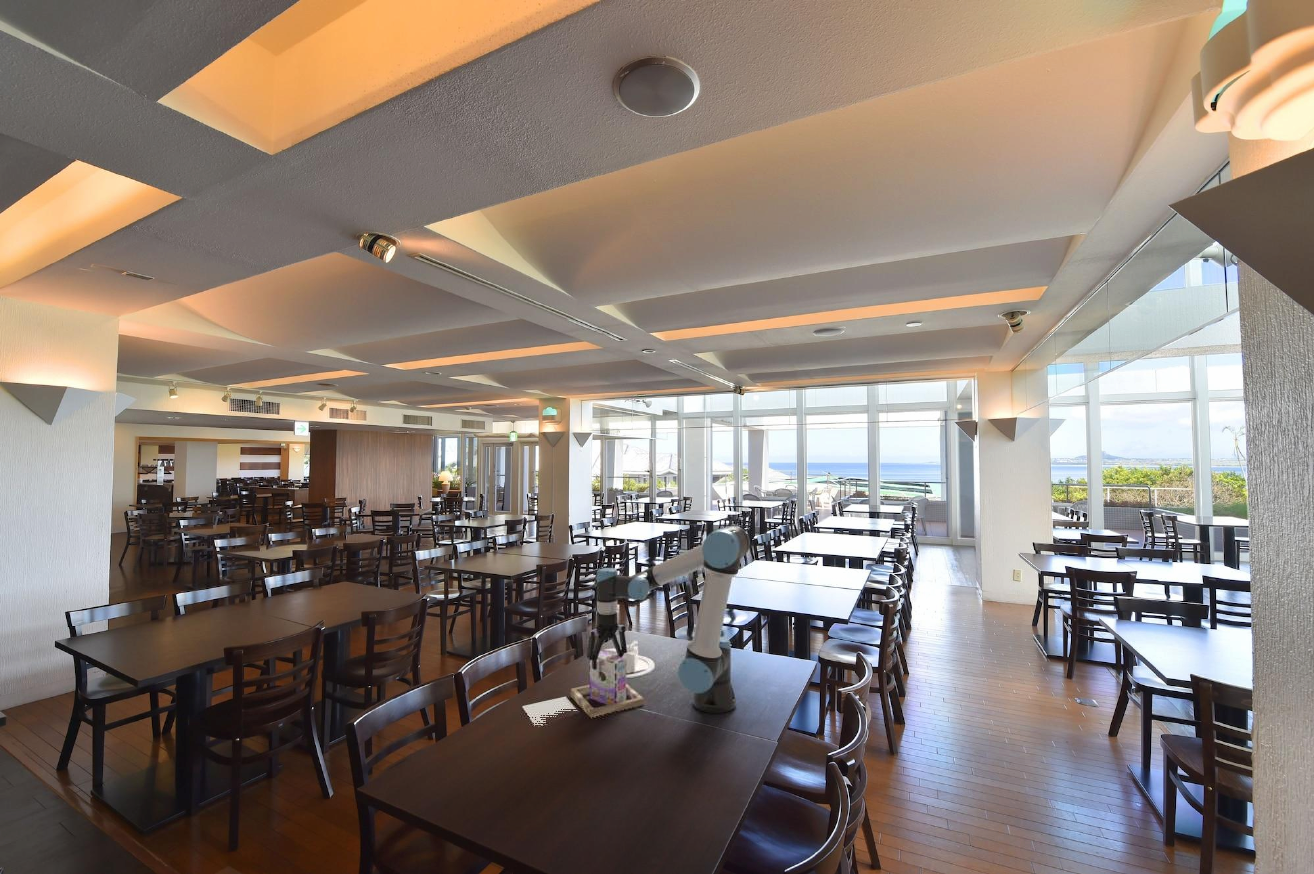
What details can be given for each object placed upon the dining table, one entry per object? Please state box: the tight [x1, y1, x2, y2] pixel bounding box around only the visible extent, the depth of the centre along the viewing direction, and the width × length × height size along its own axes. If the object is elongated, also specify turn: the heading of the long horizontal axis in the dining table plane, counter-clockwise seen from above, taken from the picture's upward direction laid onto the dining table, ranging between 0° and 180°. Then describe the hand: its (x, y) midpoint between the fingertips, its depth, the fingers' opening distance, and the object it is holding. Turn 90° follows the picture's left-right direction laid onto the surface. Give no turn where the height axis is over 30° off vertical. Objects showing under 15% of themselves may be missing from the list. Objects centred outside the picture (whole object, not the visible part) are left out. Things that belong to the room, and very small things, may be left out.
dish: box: [603, 640, 656, 679], centre depth 225 cm, size 25×25×11 cm
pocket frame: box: [570, 683, 645, 719], centre depth 193 cm, size 20×20×3 cm
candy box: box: [588, 650, 627, 706], centre depth 193 cm, size 14×6×16 cm, turn 50°
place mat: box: [521, 696, 578, 726], centre depth 183 cm, size 20×16×1 cm
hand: (607, 675), depth 193 cm, fingers open, 7 cm apart
